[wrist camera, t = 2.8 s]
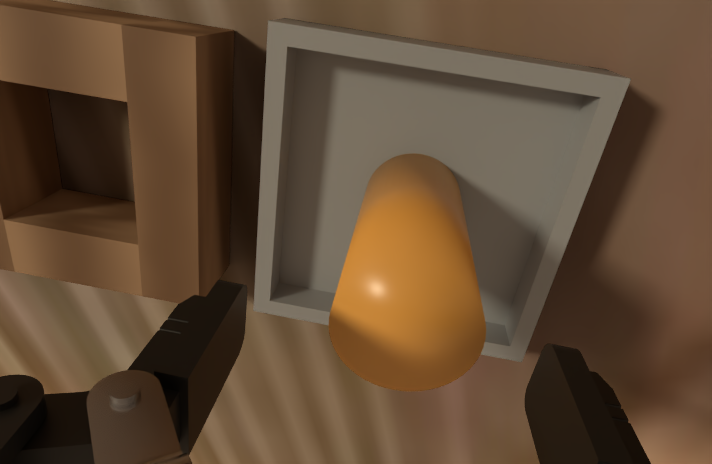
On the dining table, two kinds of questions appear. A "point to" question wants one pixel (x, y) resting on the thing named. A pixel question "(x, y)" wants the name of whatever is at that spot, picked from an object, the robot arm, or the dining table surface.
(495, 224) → the tray
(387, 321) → the plug
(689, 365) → the dining table surface
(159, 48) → the socket block
